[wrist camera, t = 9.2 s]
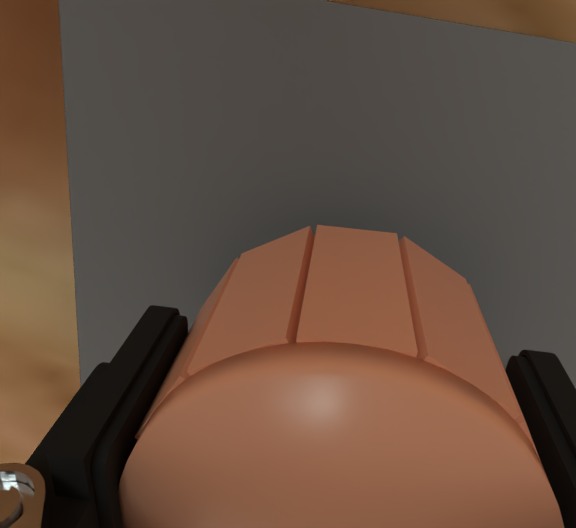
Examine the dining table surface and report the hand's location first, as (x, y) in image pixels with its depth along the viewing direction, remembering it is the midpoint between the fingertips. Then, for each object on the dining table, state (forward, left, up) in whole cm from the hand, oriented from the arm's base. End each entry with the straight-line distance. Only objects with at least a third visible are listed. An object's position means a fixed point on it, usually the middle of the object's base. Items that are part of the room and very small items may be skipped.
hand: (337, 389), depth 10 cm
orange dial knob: (0, 0, -1) cm, 1 cm away
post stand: (0, 0, -5) cm, 5 cm away
